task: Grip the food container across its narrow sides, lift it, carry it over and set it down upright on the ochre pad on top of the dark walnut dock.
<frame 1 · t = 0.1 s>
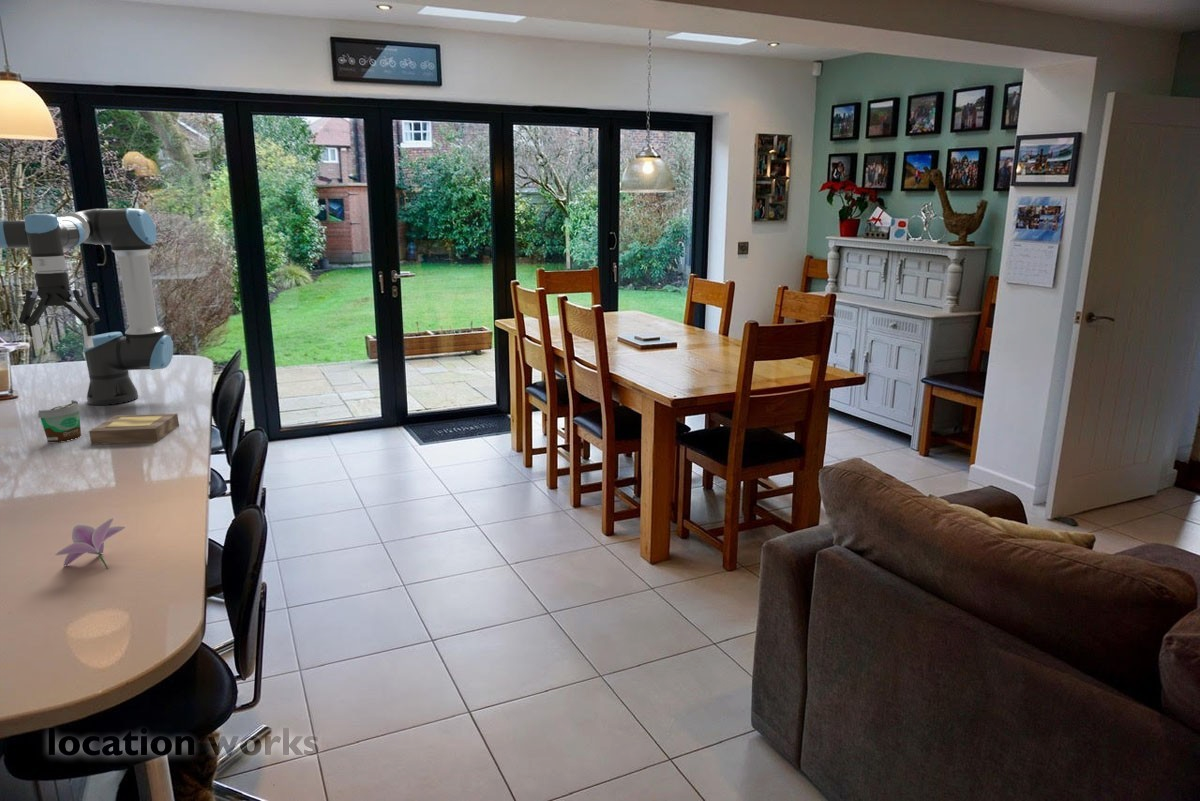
hand: (64, 348, 220), 28 cm above the kitchen island, tool pointing down, fingers open, 13 cm apart
food container: (70, 439, 231), on the kitchen island
lily: (95, 564, 153), on the kitchen island
dock: (136, 434, 234), on the kitchen island
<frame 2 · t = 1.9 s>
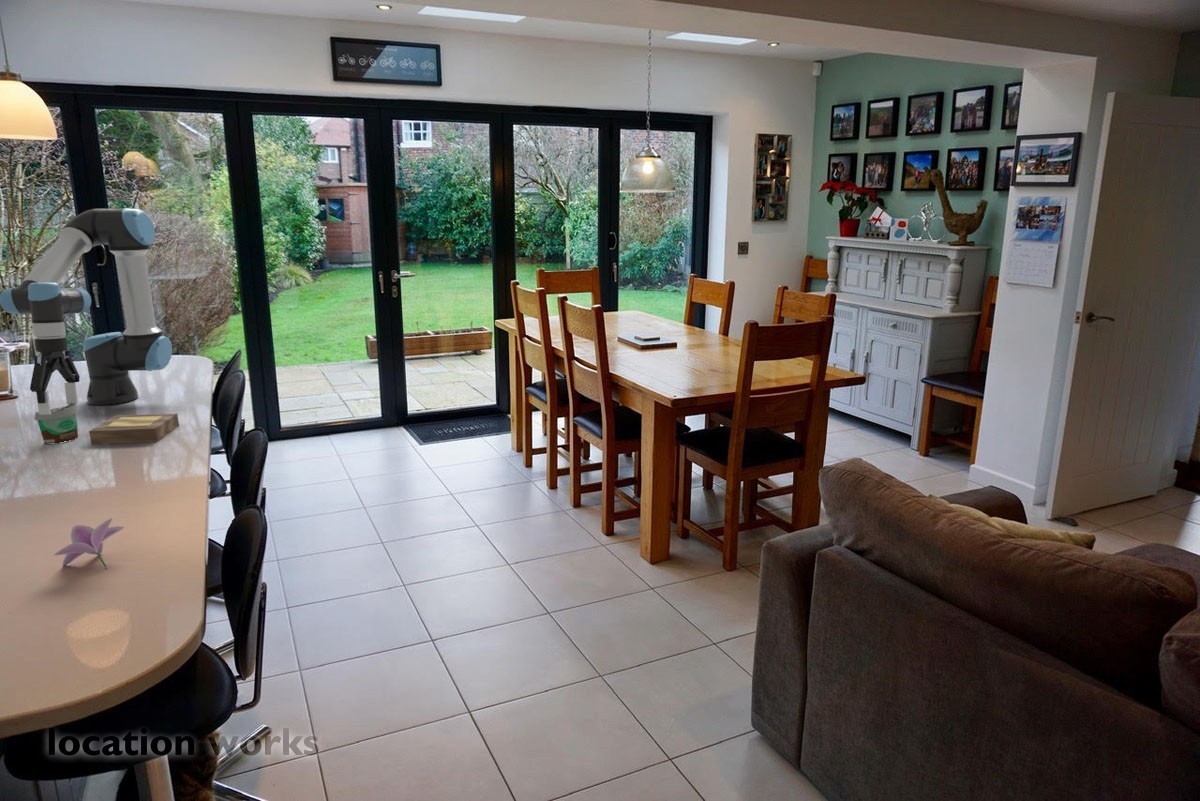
hand: (59, 410, 227), 9 cm above the kitchen island, tool pointing down, fingers open, 14 cm apart
food container: (67, 441, 230), on the kitchen island, touching gripper
everything else where it was.
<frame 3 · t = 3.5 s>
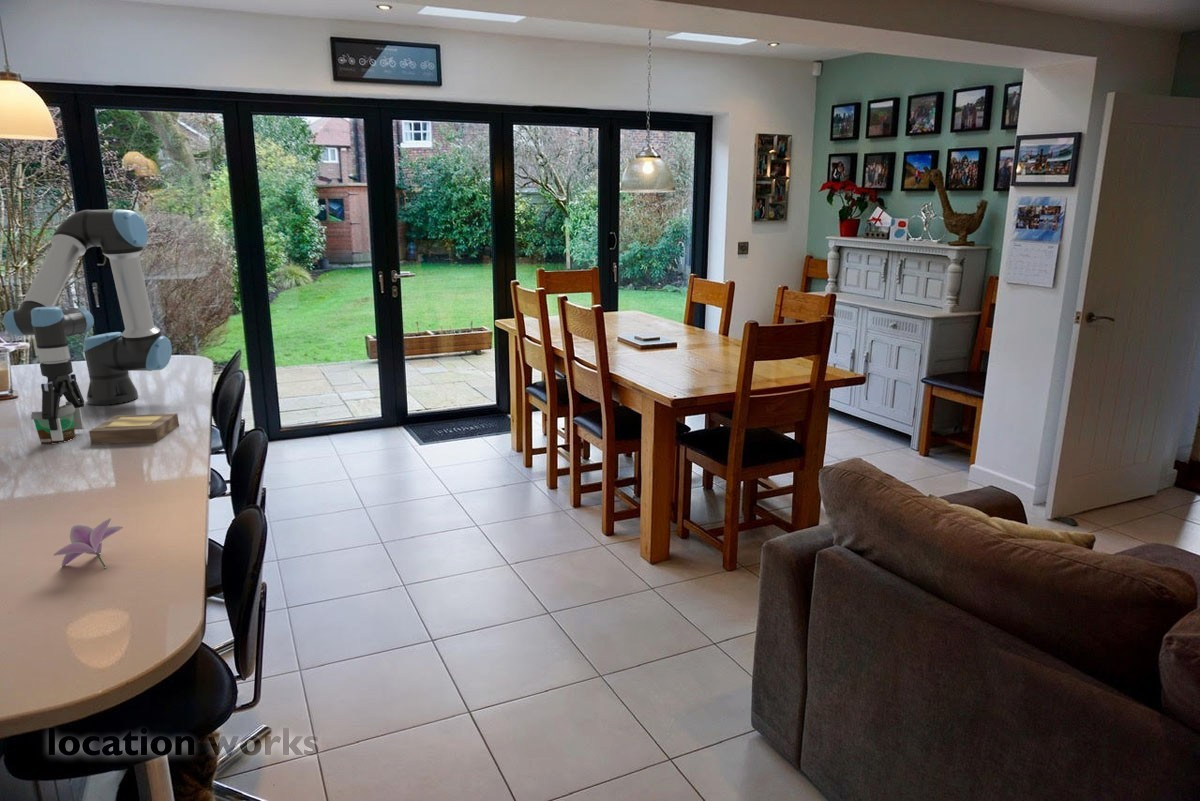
hand: (68, 434, 230), 1 cm above the kitchen island, tool pointing down, fingers closed on food container, 11 cm apart
food container: (64, 440, 229), on the kitchen island, touching gripper
everything else where it was.
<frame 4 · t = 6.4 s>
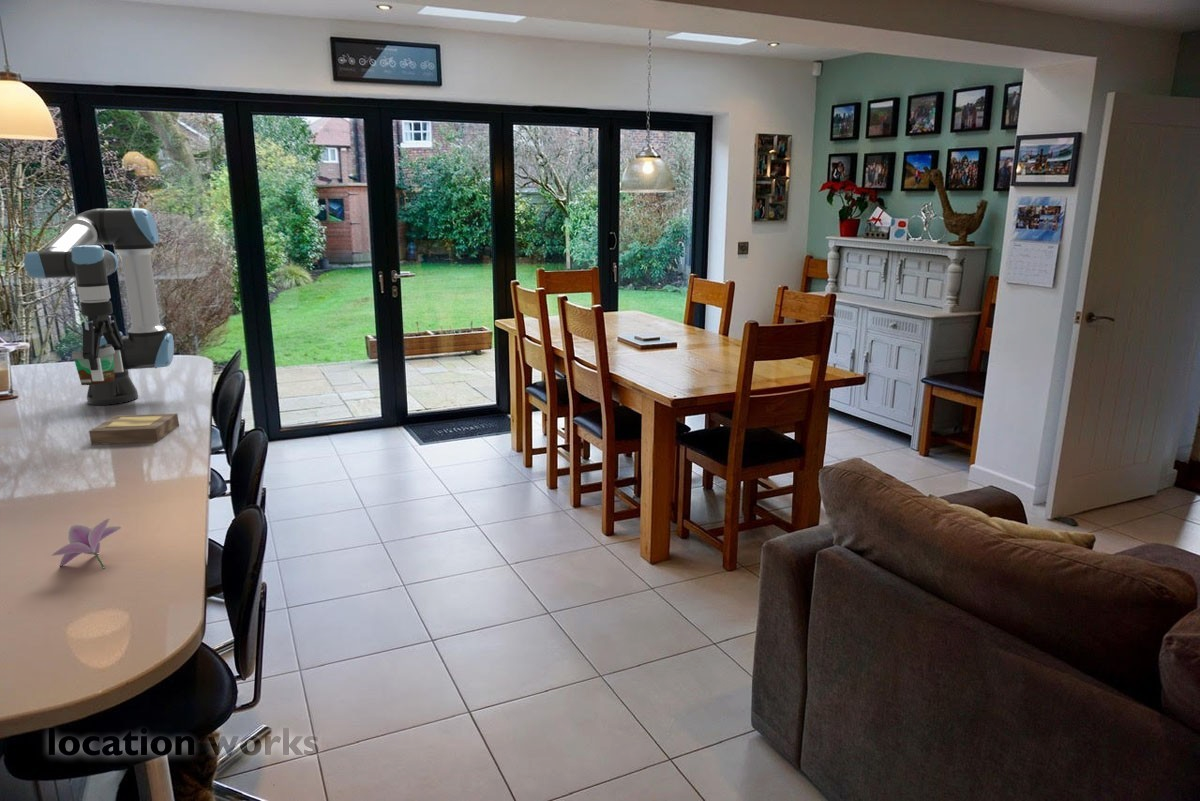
hand: (108, 376, 228), 18 cm above the kitchen island, tool pointing down, fingers closed on food container, 11 cm apart
food container: (104, 382, 227), point 17 cm above the kitchen island, touching gripper
everything else where it was.
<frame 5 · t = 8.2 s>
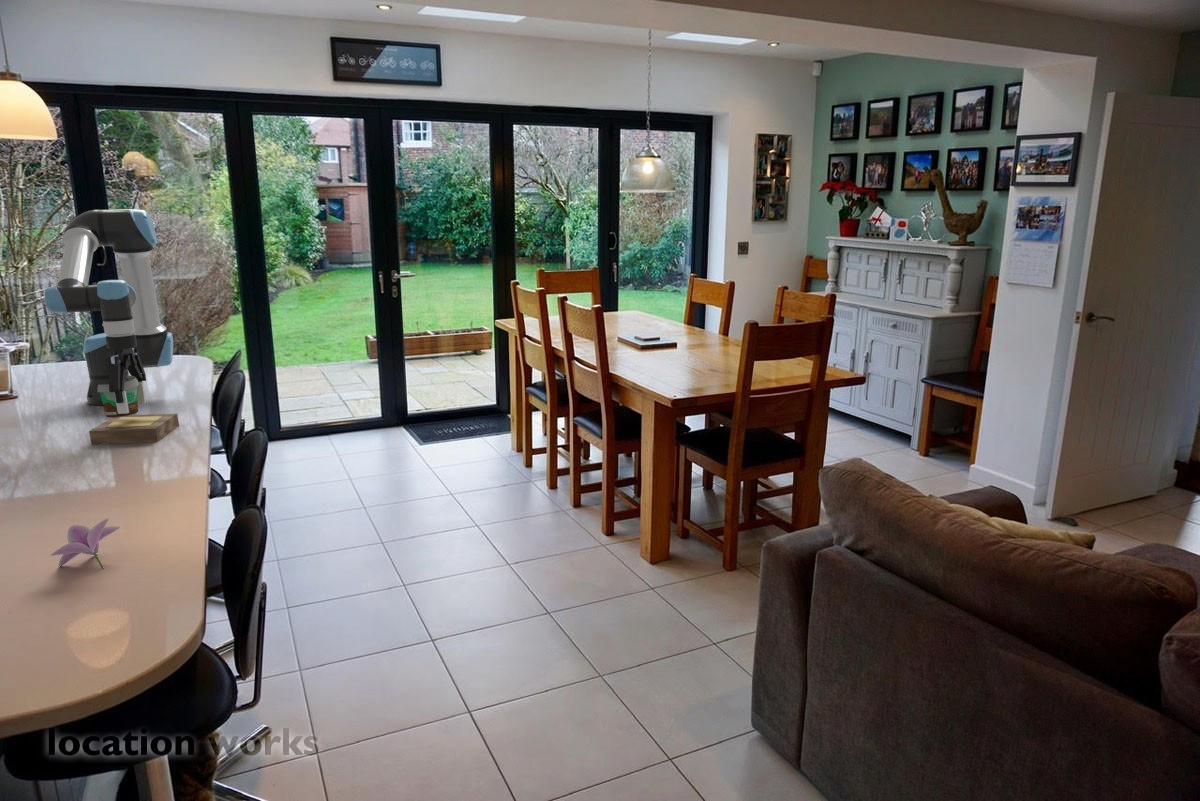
hand: (132, 408, 232), 8 cm above the kitchen island, tool pointing down, fingers closed on food container, 11 cm apart
food container: (128, 414, 231), point 7 cm above the kitchen island, touching gripper
everything else where it was.
when the fingers open (7 cm above the kitchen island, at t = 9.5 s): food container drops 1 cm, resting on dock.
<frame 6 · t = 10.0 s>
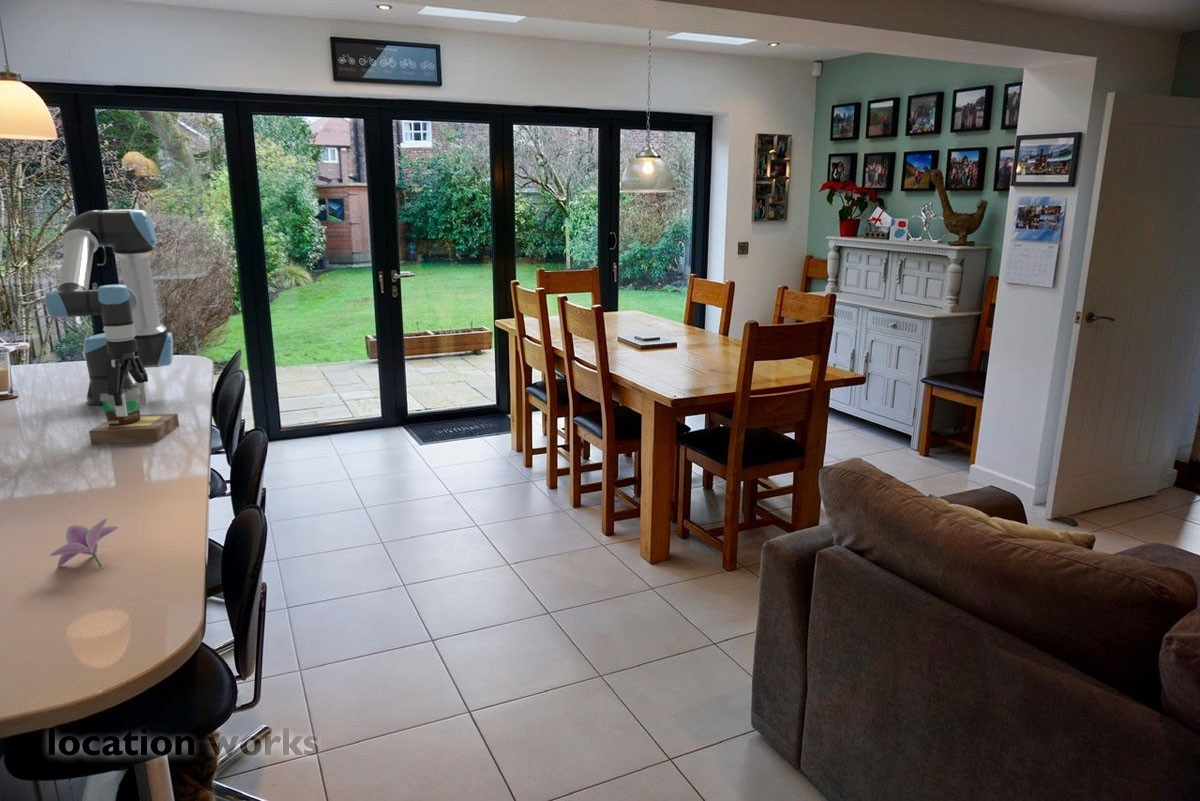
hand: (132, 409, 232), 8 cm above the kitchen island, tool pointing down, fingers open, 13 cm apart
food container: (130, 422, 232), point 4 cm above the kitchen island, touching dock
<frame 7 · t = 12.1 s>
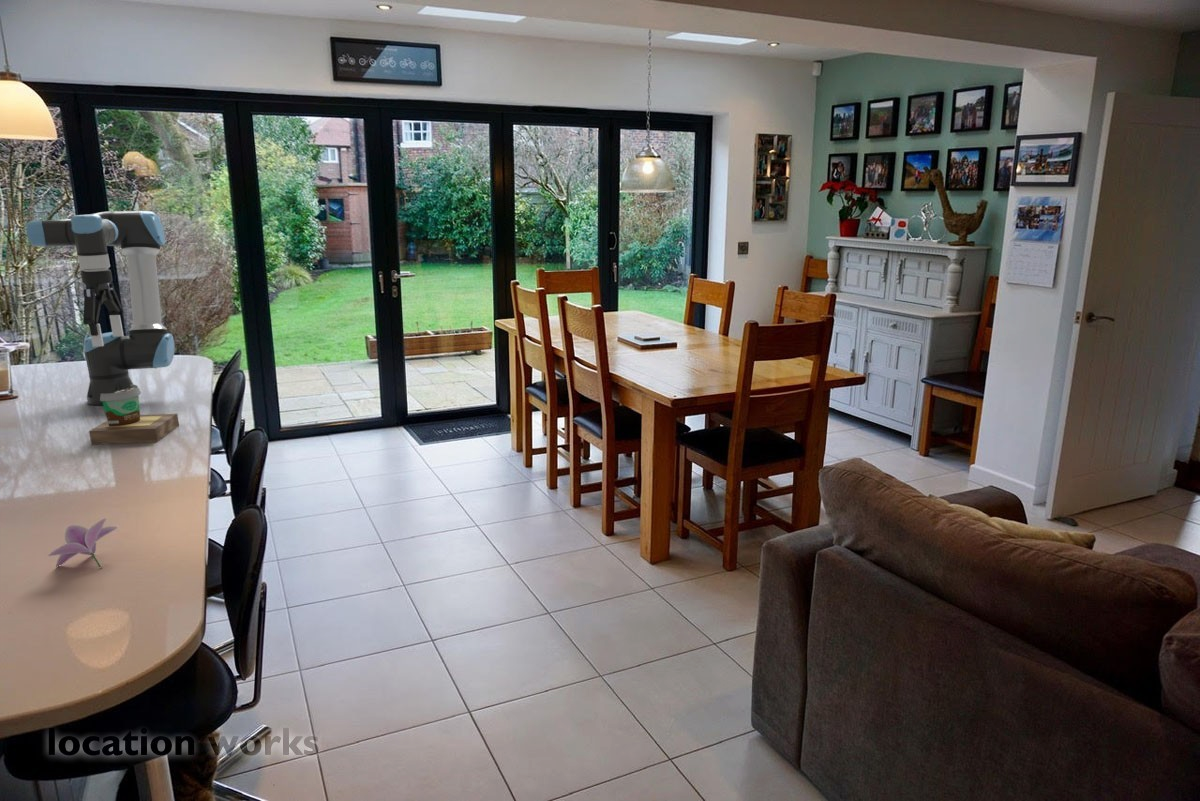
hand: (108, 341, 234), 27 cm above the kitchen island, tool pointing down, fingers open, 13 cm apart
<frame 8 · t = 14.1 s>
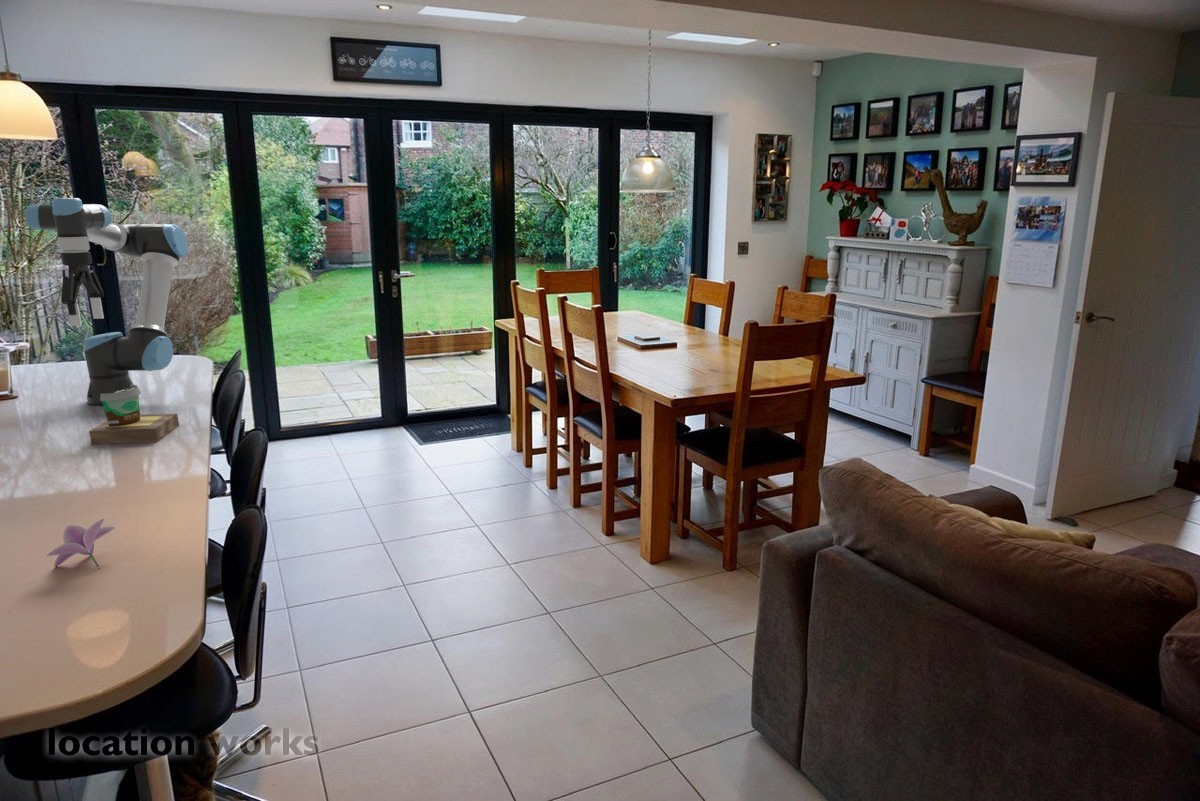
hand: (87, 322, 239), 32 cm above the kitchen island, tool pointing down, fingers open, 13 cm apart
at the end: food container inside the target area on the dock (1.1 cm from its centre), point 4.0 cm above the dock's base; food container tilted 0°; the gripper is holding nothing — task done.
